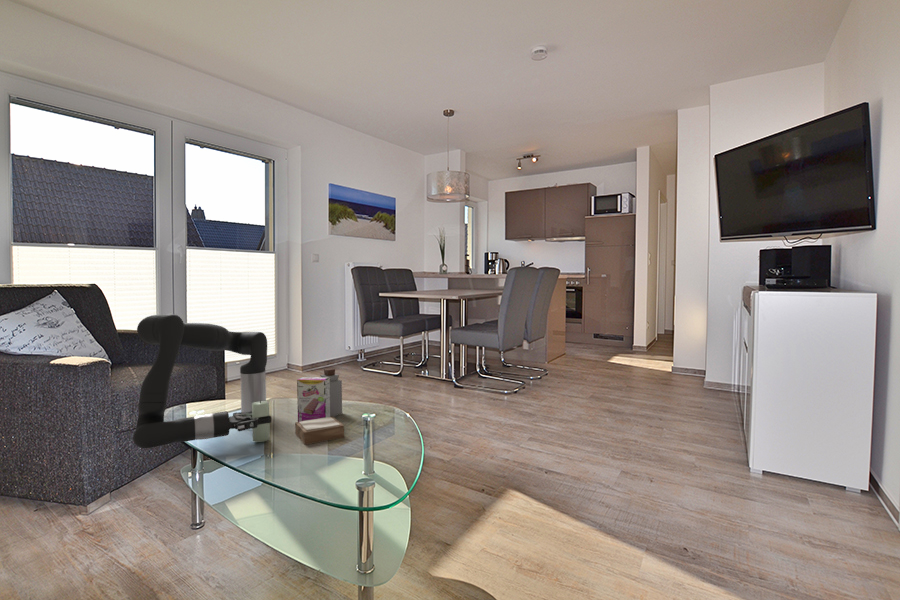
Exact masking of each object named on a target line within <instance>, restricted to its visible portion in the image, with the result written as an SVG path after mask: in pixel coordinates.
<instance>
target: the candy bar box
mask: <svg viewBox="0 0 900 600" xmlns="http://www.w3.org/2000/svg"><path fill="white" fill-rule="evenodd" d="M296 389H297V390H296V391H297V395H296V396H297V397H296V398H297V422H300V421H307V420H313V419H319V418H325V417H330V378H327V377H321V376H320V377H317V376H316V377H315V376H302V377H299V378H298V379H296Z"/></svg>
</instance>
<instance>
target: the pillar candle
mask: <svg viewBox="0 0 900 600" xmlns="http://www.w3.org/2000/svg"><path fill="white" fill-rule="evenodd" d="M264 416H270V402H269V401H267V400H266V401H261V400H260V401H259V402H254V403H252V418H254V417H258V418H259V417H264ZM251 423H252V424H253V422H251ZM270 423H271V422H270ZM270 423H266V424H259V425H258V426H257V428H252V429H251V430H252V442H253V443H254V442H255V443H263V442H266V441H268V440H270V439H271V435H270V434H271V430H270Z"/></svg>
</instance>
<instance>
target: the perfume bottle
mask: <svg viewBox="0 0 900 600" xmlns="http://www.w3.org/2000/svg"><path fill="white" fill-rule="evenodd" d="M323 372H324V374H320V375H319V376H320V377H327V378H330V417H331V416H333V417H335V416H336V417H337V416H339V415H338V414H341V413H342V414H343V387H342V385H343V383H342V382H343V381H342V380H341V379H339V377H340V374H337V373H336V369H335V368H330V367H329V368H325V369H323ZM342 414H341V415H342Z"/></svg>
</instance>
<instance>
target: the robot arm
mask: <svg viewBox="0 0 900 600" xmlns="http://www.w3.org/2000/svg"><path fill="white" fill-rule="evenodd" d="M136 331H137V332H136V333H137V335H138V337H139V338H140V339H141V341H143V342H144V343H146V344H149V345H153V346H154V345H159V349H158V354H157V356H156V359H155V361H154V363H153V364H152V366H151V368H150V369H149V370H148V372H147V374H146V376H145V378H144V380H143V382H142V383H141V384H142V385H141V387H140V392H139V398H138V407H137V408H138V409H137V410H138V417H137V422H136V428H135V430H134V433H133V434H132V441H133V443H134V444H135V446H136V447H138V448H141V449H153V448H157V447H161V446H166V445H171V444H175V443H185V442H191V441H200V440H209V439H213V438H221V437H226V436H229V435H230V430H233V429H235V430H237V432H243V431H247V430H252V428H257V426H258V425H259V424H266V423H271V422H272V416H271V415H269V416H264V417H259V418H258V417H254V418H252V403H254V402H259V401H260V400H261V401H267V381H266V379H267V378H266V367H267V361H268V338H267V336H266V334H265V333H264V332H260V331H230V330H228V329H227V328H226V327H224V326H222V325H217V324H214V323H204V322H184V321H183V319H182V318H181V317H180V316H179V315H177V314H174V313H167V314H166V313H164V314H153V315H149V316H146V317H145V318H142V319H141V320H140V322H139V323H138V324H137V328H136ZM181 346H183V347H186V348H192V349H197V350H202V351H209V352H211V351H212V352H213V351H214V352H222V351H226V352H227V351H228V352H232V353H235V354H238V355H243V356H250V359H249V360H248V362H247V363H243V364H242V365H241V366H240V368H239V370H240V371H239V373H240V375H239V376H240V377H239V378H240V401H241V402H240V412H233V413H232V415H230V416H229V411H227V410H226V411H225V410H224V411H217V412H212V413H205V414H199V415H195V416H190V417H189V416H188V417H181V418H178V419H173V420H169V421H168V420H167V421H166V420H165V412H166V408H167V403H168V396H169V388H170V382H171V377H172V373H173V369H174V368H175V367H174V366H175V363H176V361H177V357H178V355H179V351H180V348H181ZM252 422H253V424H252Z"/></svg>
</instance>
